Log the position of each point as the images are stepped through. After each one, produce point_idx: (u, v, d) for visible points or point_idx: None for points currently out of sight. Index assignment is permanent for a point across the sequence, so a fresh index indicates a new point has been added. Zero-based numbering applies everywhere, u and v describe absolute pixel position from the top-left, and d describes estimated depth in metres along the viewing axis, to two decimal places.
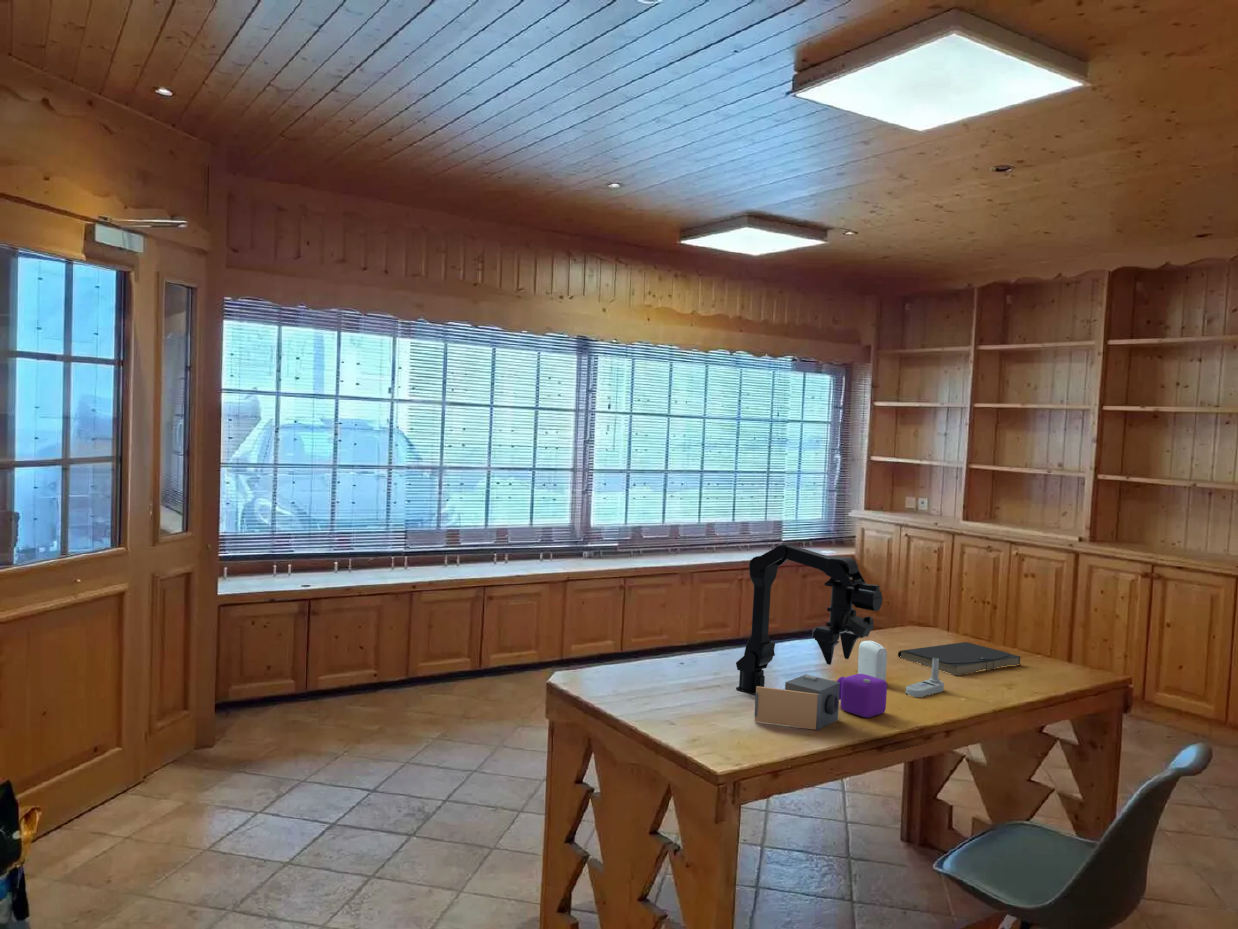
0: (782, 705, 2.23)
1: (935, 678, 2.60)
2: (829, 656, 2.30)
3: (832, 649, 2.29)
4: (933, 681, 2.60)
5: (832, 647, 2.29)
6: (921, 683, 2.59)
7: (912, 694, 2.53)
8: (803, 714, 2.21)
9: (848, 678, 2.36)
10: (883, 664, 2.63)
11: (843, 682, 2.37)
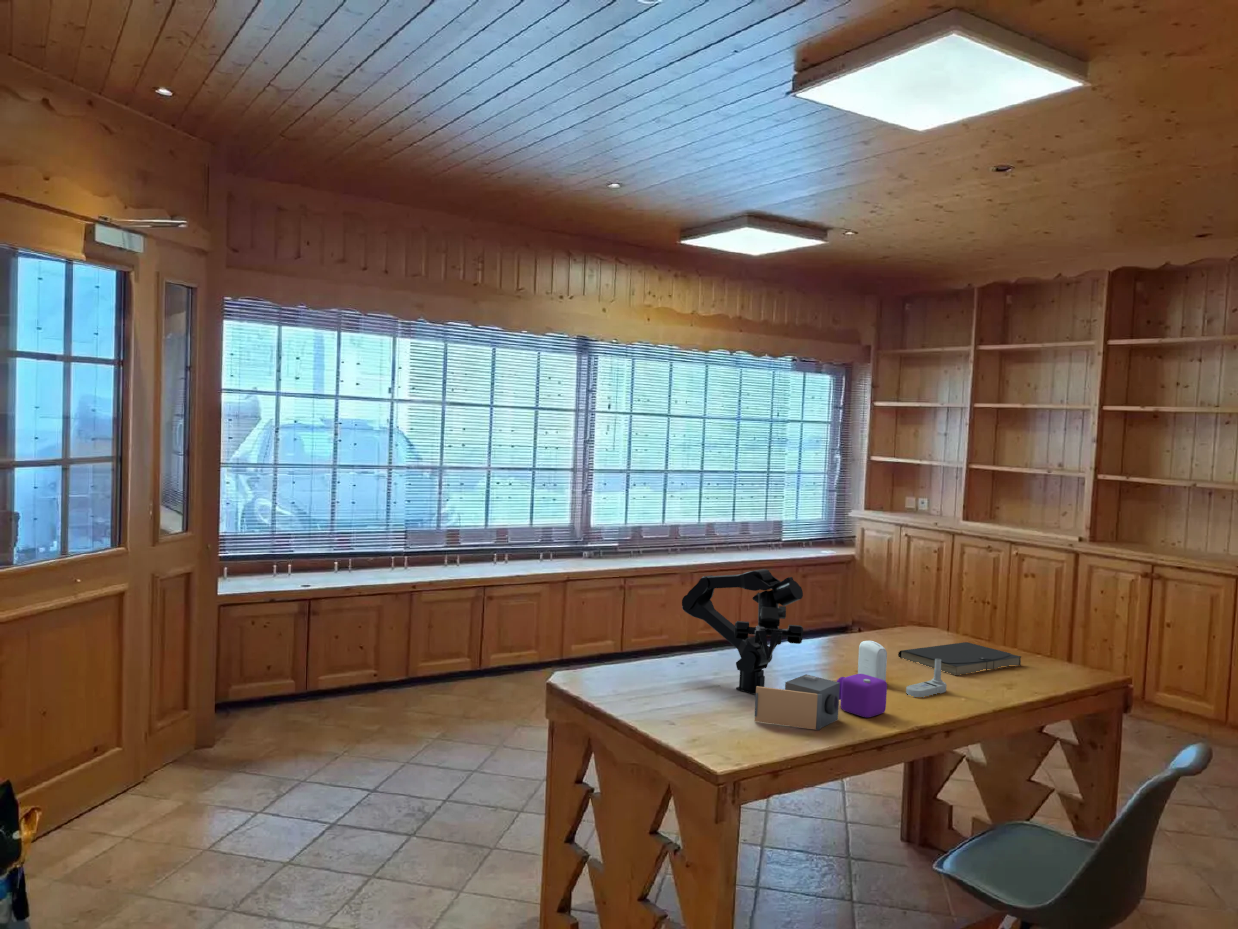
0: (782, 705, 2.23)
1: (937, 679, 2.59)
2: (764, 650, 2.38)
3: (764, 642, 2.39)
4: (935, 682, 2.59)
5: (763, 639, 2.39)
6: (923, 683, 2.59)
7: (912, 694, 2.53)
8: (803, 714, 2.21)
9: (848, 678, 2.36)
10: (883, 664, 2.63)
11: (843, 682, 2.37)
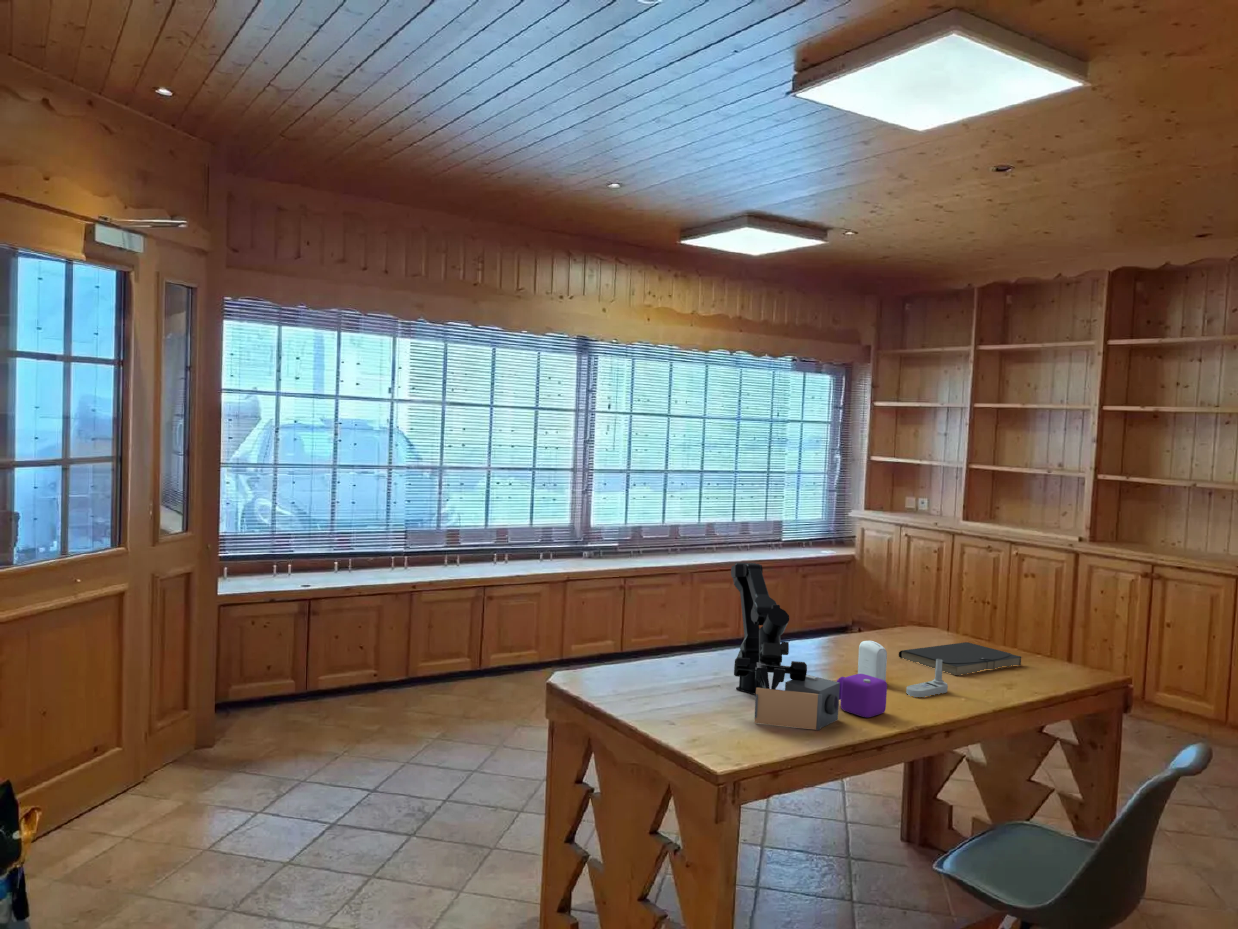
0: (782, 706, 2.22)
1: (938, 679, 2.59)
2: None
3: (765, 679, 2.26)
4: (936, 682, 2.59)
5: (764, 677, 2.26)
6: (923, 684, 2.59)
7: (912, 694, 2.53)
8: (803, 714, 2.21)
9: (848, 678, 2.36)
10: (883, 664, 2.63)
11: (843, 682, 2.37)
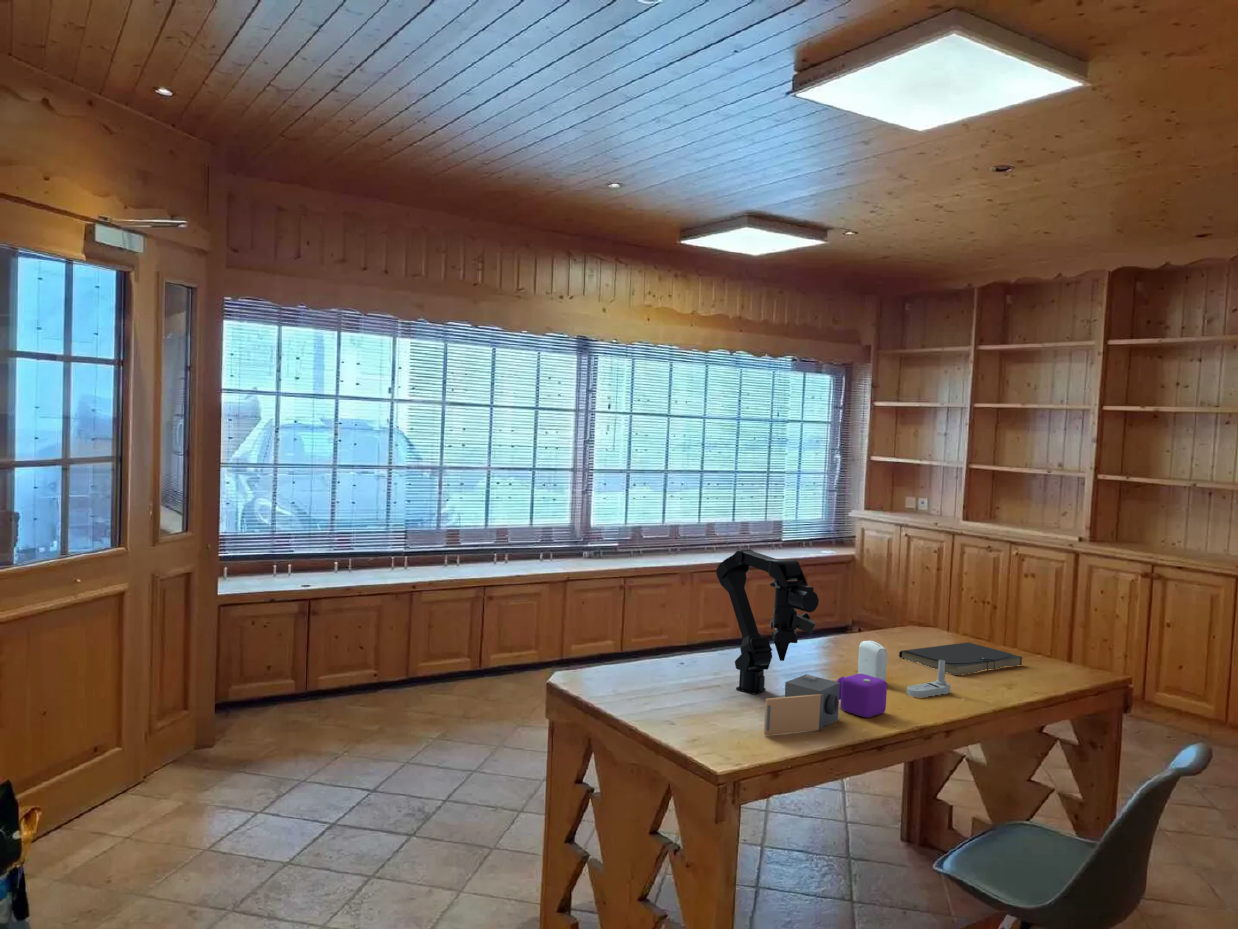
0: (790, 713, 2.17)
1: (941, 680, 2.58)
2: (784, 653, 2.40)
3: (787, 646, 2.40)
4: (938, 683, 2.58)
5: (788, 644, 2.40)
6: (925, 684, 2.58)
7: (912, 694, 2.53)
8: (808, 717, 2.19)
9: (848, 678, 2.36)
10: (883, 664, 2.63)
11: (843, 682, 2.37)
